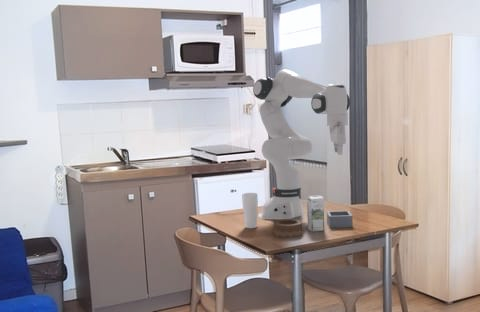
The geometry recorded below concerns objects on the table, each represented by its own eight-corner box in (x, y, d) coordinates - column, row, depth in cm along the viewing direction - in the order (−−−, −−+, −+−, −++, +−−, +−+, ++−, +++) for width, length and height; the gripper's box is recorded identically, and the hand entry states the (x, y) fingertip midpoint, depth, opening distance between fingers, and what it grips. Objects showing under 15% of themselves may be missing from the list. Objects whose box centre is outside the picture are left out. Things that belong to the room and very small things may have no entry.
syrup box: (320, 227, 219) (319, 194, 218) (324, 231, 214) (323, 197, 212) (307, 229, 218) (306, 195, 217) (311, 232, 213) (310, 198, 211)
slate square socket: (329, 227, 219) (329, 216, 218) (327, 222, 228) (326, 211, 228) (352, 227, 218) (352, 215, 218) (349, 221, 228) (348, 210, 227)
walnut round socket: (274, 238, 206) (273, 226, 206) (274, 230, 218) (273, 219, 217) (303, 237, 206) (303, 225, 205) (301, 229, 217) (301, 218, 217)
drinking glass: (247, 230, 221) (245, 196, 220) (241, 226, 227) (239, 193, 226) (261, 227, 224) (259, 194, 222) (254, 224, 230) (253, 192, 228)
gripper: (348, 122, 208) (349, 155, 210) (341, 120, 229) (342, 150, 230) (333, 122, 209) (334, 156, 210) (327, 121, 229) (328, 151, 230)
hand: (338, 153), depth 220 cm, fingers open, 8 cm apart
